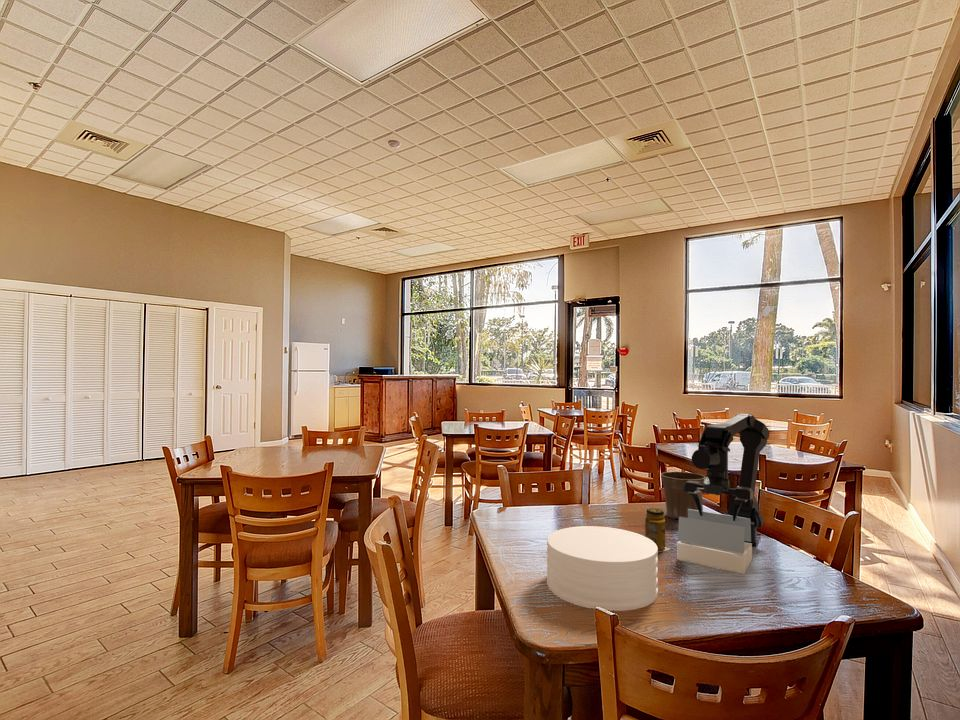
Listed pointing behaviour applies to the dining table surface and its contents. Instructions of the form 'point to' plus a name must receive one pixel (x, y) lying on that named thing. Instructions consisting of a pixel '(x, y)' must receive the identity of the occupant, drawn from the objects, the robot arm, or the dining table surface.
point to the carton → (715, 557)
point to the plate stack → (602, 567)
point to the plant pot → (679, 493)
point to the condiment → (656, 528)
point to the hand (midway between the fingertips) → (717, 518)
